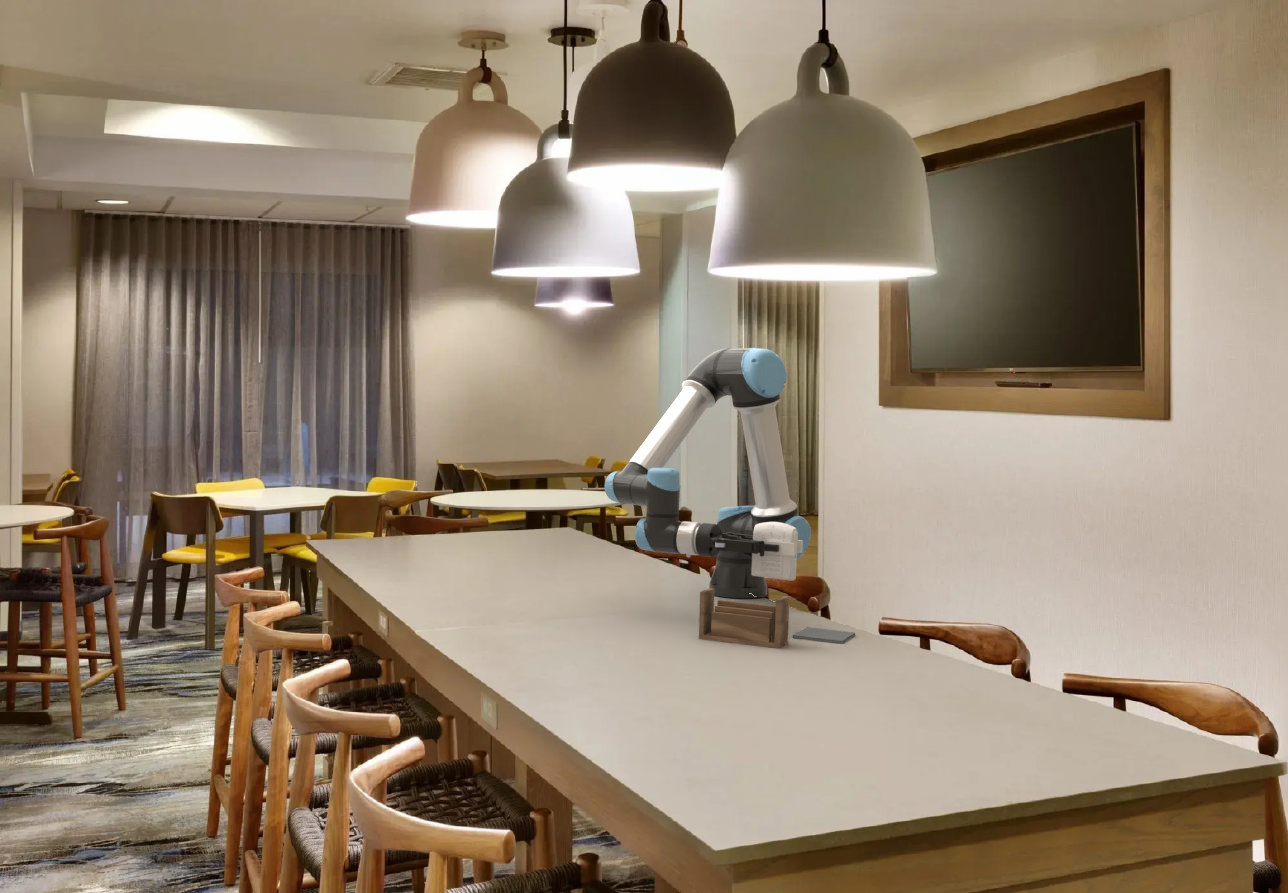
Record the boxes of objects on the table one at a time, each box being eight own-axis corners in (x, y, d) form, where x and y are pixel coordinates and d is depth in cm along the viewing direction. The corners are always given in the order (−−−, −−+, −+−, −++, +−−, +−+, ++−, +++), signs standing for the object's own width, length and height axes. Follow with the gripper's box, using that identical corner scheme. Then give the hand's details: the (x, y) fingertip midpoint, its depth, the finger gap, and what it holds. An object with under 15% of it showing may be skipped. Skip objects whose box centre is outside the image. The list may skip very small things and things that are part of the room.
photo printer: (799, 579, 264) (801, 523, 263) (791, 581, 260) (793, 524, 260) (756, 574, 269) (758, 519, 268) (748, 576, 265) (750, 521, 265)
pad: (807, 629, 268) (807, 627, 268) (855, 635, 263) (855, 632, 263) (792, 637, 259) (792, 635, 259) (842, 643, 254) (842, 640, 254)
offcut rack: (708, 633, 261) (710, 588, 260) (787, 643, 253) (789, 596, 252) (698, 638, 255) (700, 591, 255) (779, 648, 248) (780, 600, 247)
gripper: (715, 551, 280) (810, 560, 270) (683, 560, 265) (783, 570, 254) (716, 519, 280) (811, 527, 269) (684, 526, 264) (784, 534, 254)
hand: (798, 548), depth 262 cm, fingers closed on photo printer, 4 cm apart
